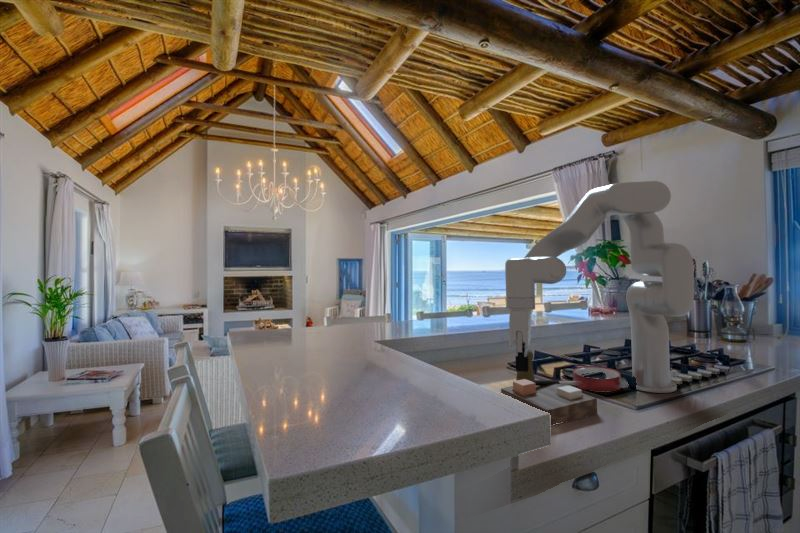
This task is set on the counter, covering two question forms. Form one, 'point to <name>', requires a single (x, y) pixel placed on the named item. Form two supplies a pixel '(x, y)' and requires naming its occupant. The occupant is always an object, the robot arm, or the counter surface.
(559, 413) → the brown wooden flat board
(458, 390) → the counter surface
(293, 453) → the counter surface
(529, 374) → the olive brown rounded cylinder
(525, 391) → the terracotta key
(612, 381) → the frying pan
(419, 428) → the counter surface
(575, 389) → the cream key
